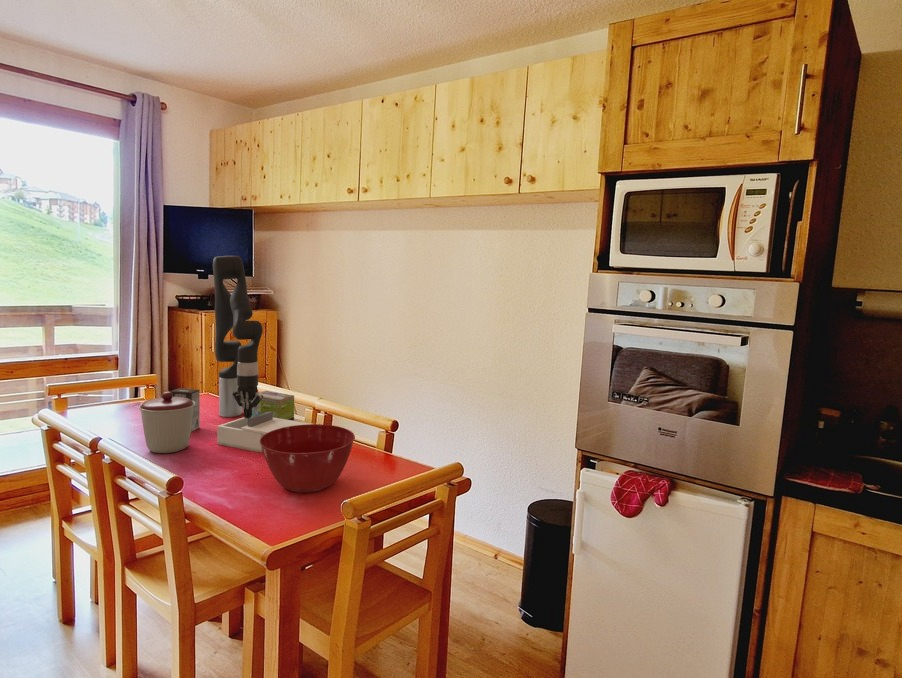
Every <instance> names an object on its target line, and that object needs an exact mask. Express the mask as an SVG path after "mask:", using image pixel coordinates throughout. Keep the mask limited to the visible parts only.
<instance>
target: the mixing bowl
mask: <svg viewBox="0 0 902 678" xmlns="http://www.w3.org/2000/svg"><path fill="white" fill-rule="evenodd" d="M355 438H356V436H355V434H354V432H353V431H351V430H349V429H347V428H345V427H342V426H337V425H331V424H321V423H319V424H318V423H317V424H316V423H311V424H307V425H295V426H289V427H284V428H280V429H276V430H273V431H271V432H268V433H266V434H265V435H263V436H262V437H261V438H260V444H261V446H262V449H263V452H262V453H263V456H264V459H265V461H266V463H267V466H268V468H269V470H270V472H271V474H272V476H273V477H274V479H275V480H276V482H277V483H278V484H279V485H280V486H281V487H283V488H285V489H287V490H289V491H290V490H291V492H293V491H294V493H299V494H309V493H310V494H311V493H316V492H320V491H323V490H325V489H327V488H328V487H330V486H331V485H333V484H334V483H335V482H336V481H337V480H338V478H339V477H340V476H341V474H342V472H344V471H343V470H344V468H345V467H346V465H347V462H348V460H349V457H350V454H351V450H352V447H353V443H354V441H355Z"/></svg>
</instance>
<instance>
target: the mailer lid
mask: <svg viewBox="0 0 902 678" xmlns="http://www.w3.org/2000/svg"><path fill="white" fill-rule="evenodd" d="M307 424H312V423H310V422H304V421H299V420H298V421H297V420H294V421H292V420H286V419H280V418H274V417H273V412H271V411H269V412H266V413H263V414H260V415H257V416H254V417H251V418H248V425H247V426H244V427H242V428H241V430H245V431H251V432H256V433H262V434H266V433H268V432H271V431H273V430H276V429H280V428H284V427H289V426H295V425H307Z"/></svg>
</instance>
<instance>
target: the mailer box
mask: <svg viewBox="0 0 902 678" xmlns="http://www.w3.org/2000/svg"><path fill="white" fill-rule="evenodd" d="M247 425H248V418H244V416H242V417H241V418H237V419H235V420H234V419H233V420H231V421H228V422H226V423H222V424H219V425H217V426H216V427H217V428H216V429H217V430H216V431H217V433H216V435H217V438H216V439H217V443H216V444H217V445H219V446H225V447H231V448H234V449H241V450H246V451H250V452H255V453H256V452H257V453H263V449H262V446H261V444H260V438H261V437H262V436H263V435H265V434H262V433H256V432H251V431H245V430H241V428H242V427H244V426H247Z"/></svg>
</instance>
